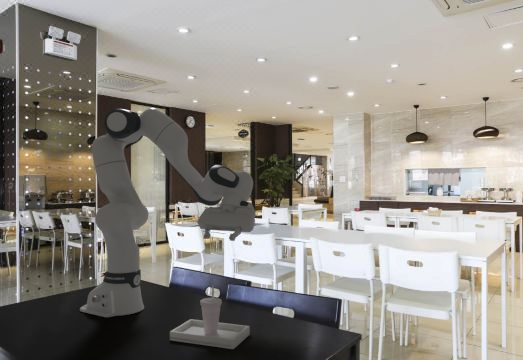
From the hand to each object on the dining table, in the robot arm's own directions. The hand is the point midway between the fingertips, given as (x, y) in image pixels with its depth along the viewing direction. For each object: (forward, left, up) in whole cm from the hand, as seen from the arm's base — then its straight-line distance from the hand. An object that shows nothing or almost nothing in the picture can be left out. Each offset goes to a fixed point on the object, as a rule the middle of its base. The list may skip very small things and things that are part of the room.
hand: (218, 238), depth 140 cm
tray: (+5, -16, -27) cm, 32 cm away
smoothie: (+5, -16, -26) cm, 31 cm away
